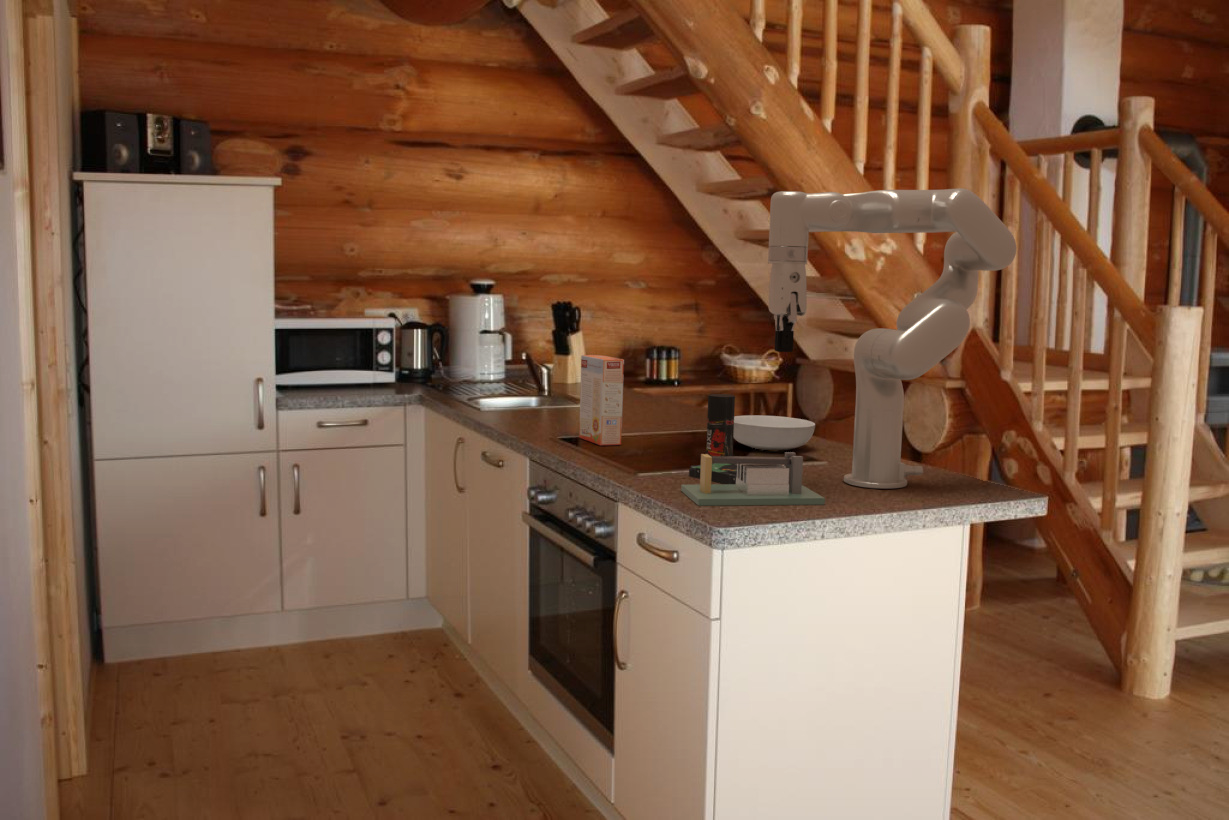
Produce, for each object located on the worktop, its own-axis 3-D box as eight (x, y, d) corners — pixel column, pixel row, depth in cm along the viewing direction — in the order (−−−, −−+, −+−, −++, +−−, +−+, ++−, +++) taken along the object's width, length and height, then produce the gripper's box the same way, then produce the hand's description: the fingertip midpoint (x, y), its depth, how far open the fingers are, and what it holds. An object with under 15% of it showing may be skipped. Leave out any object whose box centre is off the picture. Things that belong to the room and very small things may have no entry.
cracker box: (622, 445, 280) (625, 358, 278) (599, 446, 278) (601, 358, 275) (600, 437, 293) (602, 353, 290) (578, 438, 291) (580, 354, 288)
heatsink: (775, 487, 226) (776, 461, 225) (788, 495, 218) (789, 468, 217) (735, 487, 224) (736, 461, 224) (747, 495, 217) (748, 468, 216)
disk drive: (775, 485, 238) (721, 473, 249) (775, 471, 237) (722, 460, 248) (740, 490, 231) (687, 478, 242) (741, 476, 231) (687, 465, 242)
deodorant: (737, 462, 260) (740, 395, 258) (721, 465, 256) (724, 397, 254) (716, 459, 264) (719, 393, 262) (700, 462, 260) (702, 394, 258)
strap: (795, 464, 223) (796, 455, 223) (800, 466, 221) (800, 457, 220) (709, 463, 220) (710, 453, 220) (713, 465, 218) (713, 456, 217)
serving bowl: (804, 458, 269) (806, 428, 268) (716, 451, 276) (717, 422, 275) (821, 446, 289) (822, 418, 288) (738, 439, 296) (739, 412, 295)
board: (800, 489, 230) (802, 448, 229) (824, 504, 216) (826, 460, 215) (681, 490, 226) (682, 448, 225) (698, 505, 212) (699, 461, 211)
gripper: (819, 257, 219) (814, 354, 221) (794, 257, 234) (790, 348, 236) (781, 255, 218) (776, 354, 220) (757, 256, 232) (754, 348, 235)
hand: (783, 351), depth 228 cm, fingers closed
